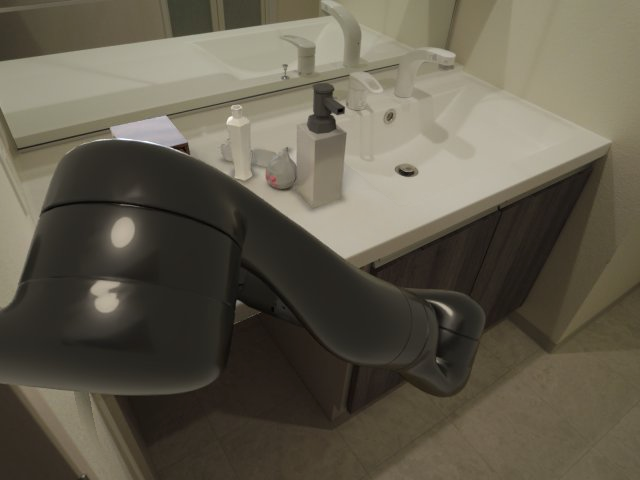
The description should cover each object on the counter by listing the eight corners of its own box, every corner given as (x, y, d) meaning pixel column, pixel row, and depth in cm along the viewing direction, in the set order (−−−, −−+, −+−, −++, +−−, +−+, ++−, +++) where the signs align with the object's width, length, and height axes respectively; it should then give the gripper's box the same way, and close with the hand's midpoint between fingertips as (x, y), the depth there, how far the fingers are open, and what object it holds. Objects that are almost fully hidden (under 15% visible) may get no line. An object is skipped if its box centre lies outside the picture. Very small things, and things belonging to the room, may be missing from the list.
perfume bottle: (258, 171, 89) (253, 104, 79) (248, 182, 86) (242, 113, 76) (238, 167, 90) (231, 100, 80) (228, 177, 87) (220, 109, 77)
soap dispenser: (318, 215, 79) (324, 103, 64) (296, 191, 84) (296, 82, 70) (347, 205, 81) (358, 95, 67) (323, 182, 87) (329, 76, 72)
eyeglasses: (218, 159, 92) (217, 142, 89) (232, 144, 98) (231, 128, 96) (279, 169, 90) (279, 152, 88) (289, 153, 96) (289, 137, 94)
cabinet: (194, 174, 87) (188, 142, 82) (137, 190, 82) (127, 157, 77) (172, 146, 95) (165, 115, 90) (120, 159, 90) (109, 127, 85)
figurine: (257, 186, 85) (255, 152, 79) (281, 173, 89) (281, 139, 84) (280, 200, 82) (279, 164, 76) (304, 185, 86) (305, 151, 80)
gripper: (321, 225, 49) (205, 190, 53) (260, 313, 39) (125, 261, 44) (319, 269, 54) (214, 234, 58) (265, 357, 44) (143, 306, 49)
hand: (176, 245), depth 51 cm, fingers open, 8 cm apart
